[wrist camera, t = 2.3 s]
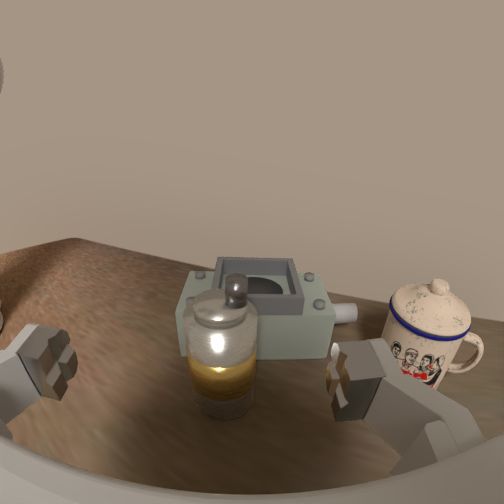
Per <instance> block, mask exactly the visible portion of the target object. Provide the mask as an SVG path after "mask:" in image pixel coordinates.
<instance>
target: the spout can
mask: <svg viewBox="0 0 504 504" xmlns="http://www.w3.org/2000/svg"><path fill="white" fill-rule="evenodd" d="M257 321H258V312H257V309H256V308H255V306H254V305H253V304H252V303H251V302H249V301H248V277H247V276H245V275H243V274H239V273H234V274H229V275H227V276H226V277H225V289H211V290H207V291H204V292H202V293H200V294H198V295H197V296H196V297H195V298H194V300H193V301H192V302H191V303H189V304H188V305H187V306H186V308H185V309H184V312H183V323H184V331H185V339H186V352H187V359H188V366H189V373H190V380H191V384H192V389H193V395H194V401H195V404H196V407H197V408H198V409H199V411H200V412H201V413H203V414H204V415H206V416H208V417H210V418H213V419H217V420H231V419H235V418H238V417H240V416H242V415H243V414H245V413H246V412H247V411H248V410H249V409H250V407H251V405H252V403H253V393H254V382H255V368H256V351H257V342H256V339H257Z"/></svg>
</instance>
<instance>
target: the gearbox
mask: <svg viewBox="0 0 504 504" xmlns="http://www.w3.org/2000/svg"><path fill="white" fill-rule="evenodd" d="M234 273H239V274H243V275H245V276H247V277H248V301H249V302H251V303H252V304H253V305H254V306H255V308H256V309H257V312H258V321H257V339H256V342H257V351H256V360H285V359H319V358H326V357H327V353H328V349H329V345H330V340H331V336H332V332H333V327H334V324H340V323H355V322H356V320H357V314H358V312H357V306H356V304H355V303H342V304H331V301H330V299H329V297H328V294H327V292H326V290H325V287H324V285H323V283H322V281H321V279H320V276H319V274H313V273H305V274H301V273H297V271H296V268H295V265H294V262H293V259H285V258H243V257H242V258H241V257H218V258H217V262H216V267H215V272H211V271H203V270H198V271H190V272H189V275H188V278H187V280H186V283H185V286H184V288H183V291H182V294H181V297H180V300H179V302H178V305H177V308H176V311H175V316H176V324H177V331H178V338H179V345H180V352H181V356H184V357H187V352H186V339H185V331H184V323H183V312H184V309H185V308H186V306H187V305H188V304H189V303H191V302H192V301H193V300H194V298H195V297H196V296H197V295H198V294H200V293H202V292H204V291H207V290H211V289H225V277H226V276H227V275H229V274H234Z"/></svg>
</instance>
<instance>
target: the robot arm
mask: <svg viewBox="0 0 504 504" xmlns="http://www.w3.org/2000/svg"><path fill="white" fill-rule="evenodd" d="M2 85H3V66H2V62H1V59H0V92H1V89H2ZM0 308H1V300H0ZM2 325H3V315H2V313H1V311H0V330H1V328H2ZM69 343H70V338H69V335H68V333H67V331H65V330H63V329H59V328H53V327H48V326H44V325H38V324H33V323H30V324H27V325H26V326H25V327H24V328H23V330H22V331H21V332H20V333H19V334H18V335H17V337H16V338H15V339H14V340H13V341H12V342H11V344H10V345H9V346H8V347H7V348H6V350H5V351H4V350H1V351H0V504H504V433H502V434H500V435H498V436H496V437H494V438H492V439H490V440H488V441H485V439H484V437H483V435H482V433H481V431H480V430H479V428H478V426H477V424H476V422H475V421H474V419H473V417H472V415H471V414H470V412H469V410H468V409H466V408H465V407H463V406H461V405H460V404H458V403H456V402H455V401H453V400H451V399H449V398H448V397H446V396H444V395H443V394H441V393H439V392H438V391H436V390H434V389H433V388H431V387H429V386H428V385H426V384H424V383H423V382H421V381H419V380H418V379H416V378H415V377H413V376H411V375H410V374H403V372H402V370H401V368H400V366H399V364H398V363H397V361H396V359H395V357H394V355H393V354H392V352H391V350H390V348H389V346H388V345H387V343H386V341H385V340H384V339H383V338H376V339H367V340H360V341H347V342H334V344H333V345H332V348H331V356H332V361H331V362H329V363H328V365H327V370H326V387H327V391H328V394H329V395H330V396H332V397H333V401H332V404H331V407H332V411H333V414H334V418H335V422H346V421H355V420H363V419H364V420H363V421H364V422H365V423H366V424H367V425H368V426H369V427H370V428H371V429H372V430H373V431H374V432H376V433H377V434H378V435H379V436H380V437H381V438H382V439H383V440H384V441H385V442H386V443H387V444H388V445H390V446H391V447H392V448H393V449H394V450H395V451H396V452H397V453H398V454H399V455H400V456H402V457H401V459H400V460H399V461H398V462H397V464H396V465H395V466H394V467H393V468H392V470H391V471H390V474H391V477H387V478H383V479H379V480H375V481H371V482H366V483H361V484H356V485H351V486H345V487H339V488H332V489H325V490H317V491H308V492H298V493H284V494H254V495H245V494H216V493H202V492H192V491H183V490H175V489H168V488H161V487H155V486H149V485H144V484H139V483H134V482H130V481H125V480H121V479H117V478H113V477H109V476H105V475H101V474H98V473H94V472H91V471H88V470H85V469H81V468H78V467H75V466H72V465H69V464H67V463H64V462H61V461H58V460H56V459H53V458H50V457H48V456H45V455H43V454H41V453H38V452H36V451H34V450H31V449H29V448H27V447H25V446H22V445H20V444H18V443H16V442H14V441H12V438H13V435H12V433H11V431H10V430H9V429H8V428H7V427H6V424H8V423H9V422H10V421H11V420H13V419H14V418H15V417H16V416H18V415H19V414H20V413H22V412H23V411H24V410H25V409H27V408H28V407H29V406H31V405H32V404H33V403H34V402H36V401H37V400H38V399H40V398H41V396H43V397H46V398H50V399H54V400H57V401H61V399H62V397H63V395H64V394H65V392H66V390H67V388H68V384H67V381H69V380H70V379H72V378H73V377H74V375H75V373H76V371H77V365H78V361H77V356H76V353H75V351H74V349H73V348H72V347H71V346H70V345H69Z"/></svg>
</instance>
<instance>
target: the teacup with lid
mask: <svg viewBox="0 0 504 504" xmlns="http://www.w3.org/2000/svg"><path fill="white" fill-rule="evenodd" d="M389 306H390V310H389V313H388V317H387V320H386V323H385V326H384V329H383V332H382V335H381V338H383V339H384V340H385V341H386V343H387V345H388V346H389V348H390V350H391V352H392V354H393V355H394V357H395V359H396V361H397V363H398V364H399V366H400V368H401V370H402V372H403V374H410V375H411V376H413V377H415V378H416V379H418V380H419V381H421V382H423V383H424V384H426V385H428V386H429V387H431V388H433V389H434V390H436V389H437V387H438V385H439V384H440V382H441V380H442V378H443V377H444V375H445V373H446V371H447V372H452V373H462V372H465V371H468V370H470V369H471V368H473V367H474V366H475V365H476V364H477V363H478V362H479V360H480V359H481V357H482V355H483V342H482V340H481V339H480V337H479V336H477V335H476V334H474V333H471V332H468V331H469V329H470V326H471V315H470V312H469V310H468V308H467V306H466V305H465V304H464V303H463V302H462V301H461V300H460V299H459V298H458V297H456V296H455V295H453V294H452V293H451V292H449V284H448V283H447V282H446V281H444V280H442V279H434V280H432V282H431V284H410V285H405V286H403V287H401V288H399V289H398V290H397V291H395V293H394V294H393V295H392V297H391V299H390V303H389ZM462 341H466V342H469V343H472V344H474V345H475V346H476V347H477V351H476V353H475V354H474V356H473V357H472V358H471V359H469V360H468V361H466V362H464V363H452V360H453V358H454V356H455V354H456V352H457V350H458V348H459V346H460V344H461V342H462Z"/></svg>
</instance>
